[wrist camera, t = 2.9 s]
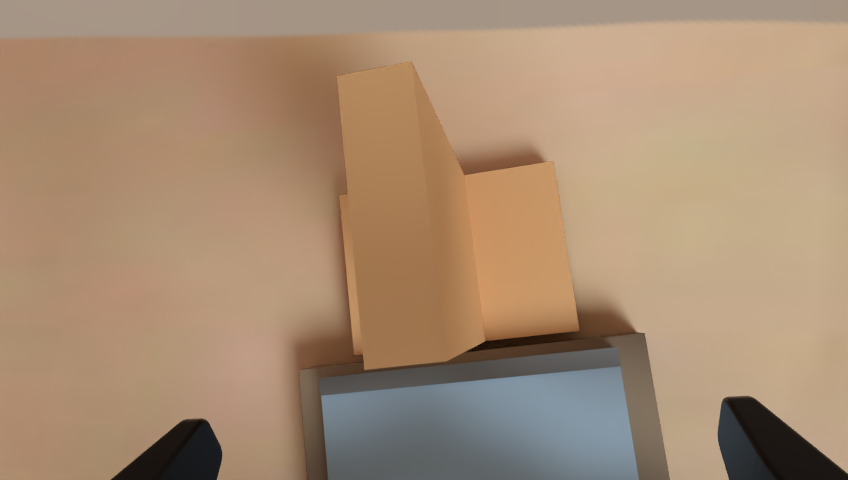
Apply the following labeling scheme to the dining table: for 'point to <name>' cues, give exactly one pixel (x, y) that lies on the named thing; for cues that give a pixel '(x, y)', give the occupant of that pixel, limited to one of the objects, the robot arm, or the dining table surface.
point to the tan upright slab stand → (441, 233)
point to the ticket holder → (490, 416)
